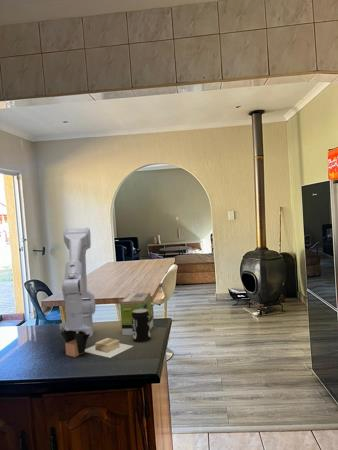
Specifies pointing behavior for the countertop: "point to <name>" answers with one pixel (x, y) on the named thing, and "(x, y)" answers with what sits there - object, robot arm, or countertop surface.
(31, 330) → the countertop surface
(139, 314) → the beverage can
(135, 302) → the tea box
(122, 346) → the build plate
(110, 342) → the bottom brick
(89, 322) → the robot arm
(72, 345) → the top brick
